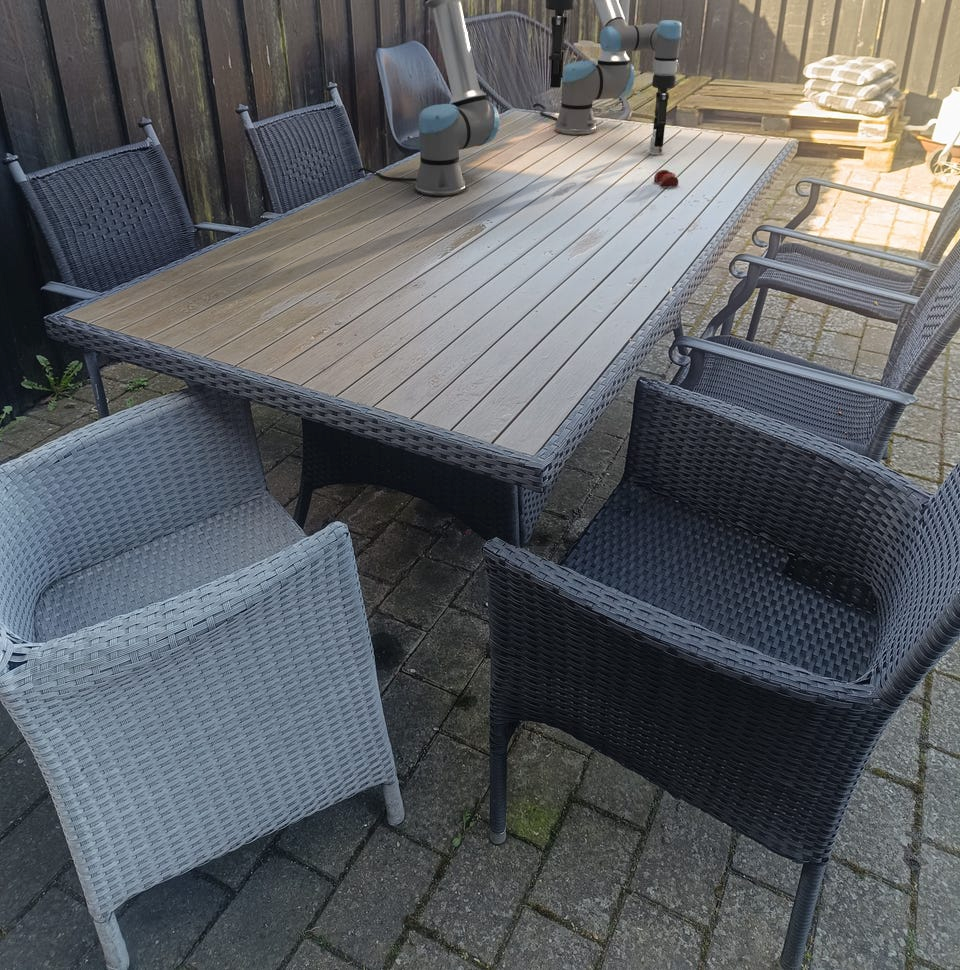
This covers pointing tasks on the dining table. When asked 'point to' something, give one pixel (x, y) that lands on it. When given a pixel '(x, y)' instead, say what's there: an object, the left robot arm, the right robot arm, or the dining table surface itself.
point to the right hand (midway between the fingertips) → (657, 141)
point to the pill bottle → (653, 149)
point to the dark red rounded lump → (666, 178)
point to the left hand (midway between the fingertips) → (556, 82)
